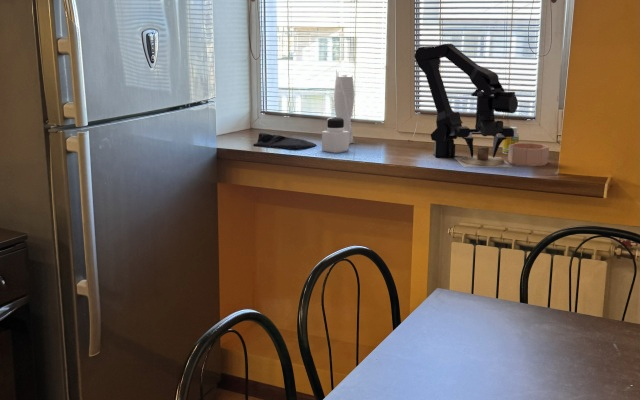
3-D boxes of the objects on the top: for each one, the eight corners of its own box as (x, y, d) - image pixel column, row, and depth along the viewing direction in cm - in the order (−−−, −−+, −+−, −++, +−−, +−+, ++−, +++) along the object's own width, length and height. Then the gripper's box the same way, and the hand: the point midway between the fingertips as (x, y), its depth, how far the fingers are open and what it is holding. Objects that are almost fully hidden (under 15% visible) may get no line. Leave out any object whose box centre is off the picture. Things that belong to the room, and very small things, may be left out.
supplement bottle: (509, 152, 275) (511, 125, 273) (520, 154, 271) (522, 127, 269) (499, 153, 273) (500, 126, 270) (510, 155, 268) (512, 128, 266)
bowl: (514, 167, 248) (516, 149, 247) (505, 160, 260) (506, 143, 259) (551, 167, 249) (552, 149, 247) (539, 160, 260) (541, 142, 259)
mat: (463, 168, 247) (463, 166, 247) (453, 158, 262) (453, 157, 262) (512, 168, 247) (512, 166, 247) (499, 158, 263) (499, 157, 263)
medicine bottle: (349, 150, 278) (349, 117, 275) (336, 153, 273) (336, 119, 270) (334, 148, 283) (334, 116, 280) (321, 150, 277) (321, 117, 275)
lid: (466, 166, 248) (467, 151, 247) (457, 158, 261) (457, 144, 260) (509, 165, 248) (509, 151, 247) (497, 157, 262) (498, 143, 261)
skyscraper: (329, 142, 294) (329, 69, 287) (341, 140, 300) (342, 68, 293) (345, 145, 289) (345, 70, 282) (357, 142, 294) (358, 69, 288)
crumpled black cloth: (295, 153, 276) (294, 140, 275) (249, 146, 289) (249, 134, 287) (320, 147, 288) (320, 134, 286) (275, 141, 300) (275, 129, 299)
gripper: (462, 113, 243) (459, 162, 246) (520, 113, 243) (517, 161, 247) (455, 109, 253) (453, 155, 257) (510, 109, 254) (507, 155, 258)
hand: (482, 157), depth 254 cm, fingers open, 7 cm apart
